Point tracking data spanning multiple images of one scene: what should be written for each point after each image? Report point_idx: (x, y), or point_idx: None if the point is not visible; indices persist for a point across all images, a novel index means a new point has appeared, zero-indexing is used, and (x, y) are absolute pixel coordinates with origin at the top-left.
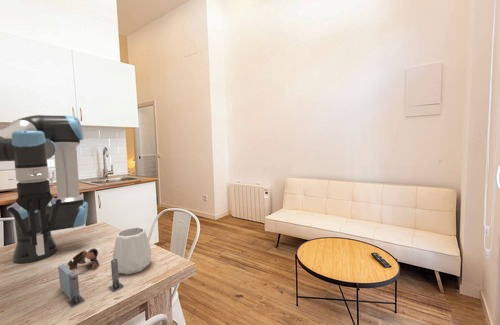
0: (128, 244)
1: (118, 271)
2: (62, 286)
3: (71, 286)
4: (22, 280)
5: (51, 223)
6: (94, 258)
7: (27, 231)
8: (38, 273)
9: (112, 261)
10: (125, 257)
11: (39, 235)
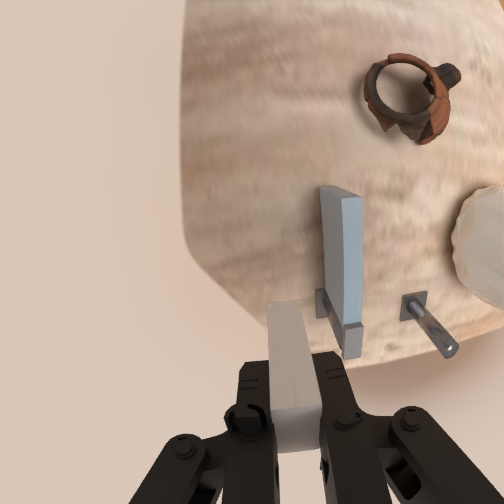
0: None
1: (452, 244)
2: (324, 220)
3: (334, 333)
4: (227, 27)
5: (405, 491)
6: (443, 129)
7: (215, 499)
8: (272, 12)
9: (445, 354)
10: (484, 296)
11: (295, 449)
